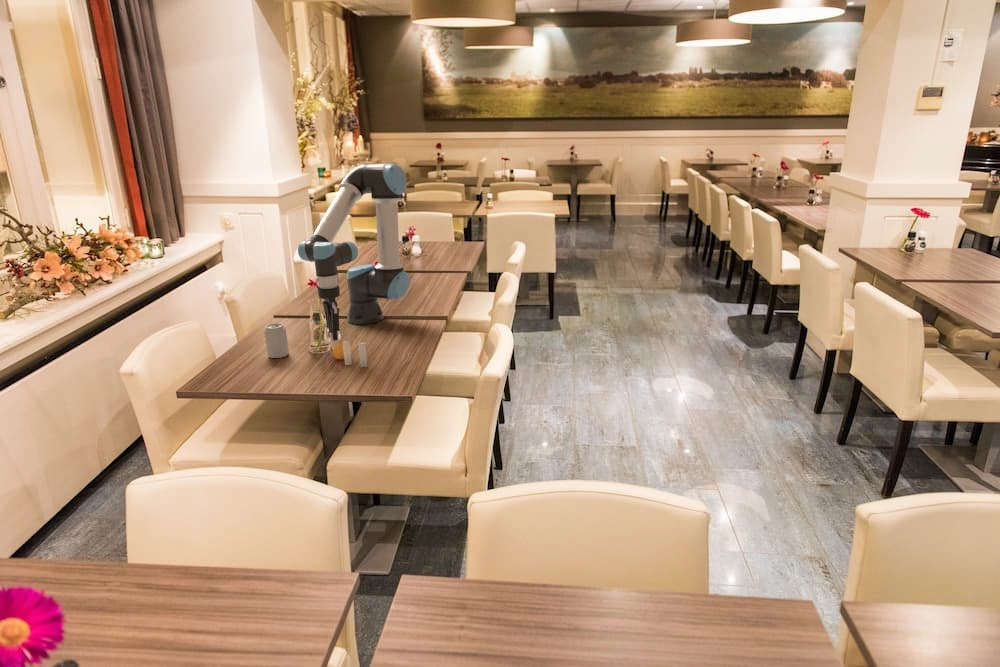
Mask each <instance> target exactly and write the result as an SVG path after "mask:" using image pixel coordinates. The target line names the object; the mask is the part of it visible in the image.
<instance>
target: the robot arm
mask: <svg viewBox="0 0 1000 667" xmlns="http://www.w3.org/2000/svg"><path fill="white" fill-rule="evenodd" d="M407 184H408V181H407V175H406V174H405V171H404V170H403V168H402V167H401V166H400V165H398V164H395V163H389V162H388V163H362V164H359V165H357V166H356V167H354V168H352V170H351V171H349V172H348V173H347V174H346V175H345V176H344V178H343V179H342V180H341V181H340V184H339V186H338V192H337V193H336V195H335V197H334V198H333V200H332V203H331V204H330V205H329V207H328V209H327V210H326V212H325V214H324V215H323V217H322V219H321V220H320V222H319V224H318V225H317V227H316V229H315V230H314V232H313V234H312V236H311V238H309V240H304V241H302V242H300V243H299V244H298V247H297V254H298V257H299V258H300V259H301V260H302V261H306V262H310V263H314V267H315V275H316V278H315V279H314V281H315V282H316V284H317V287H318V288H317V292H318V293H317V294H318V295H317V296H318V298H319V299H321V300H323V301H321V302H322V303H321V304H322V307H323V311H324V312H323V313H324V317H325V323H326V328H328V333H329V338H330V339H329V341H330V348H331V350H333V348H334V346H335V345H336V344H338V343H340V341H339V331H340V315H339V314H340V308H339V307H338V302H337V301H336V298H338V297H339V296H341V295H340V294H341V292H340V286H339V284H340V280H339V273H338V267H340V266H342V265H346V264H349V263H351V262H353V261H355V260H356V259H357V258H358V256H359V249H358V247H357V246H356V244H355V243H354V242H352V241H343V242H341V243H340V242H339V243H338V242H334V240H335V238H336V237H337V234H338V233H339V231H340V229H341V228H342V226H343V224H344V223H345V221H346V219H347V218H348V216H349V214H350V212H351V211H352V209H353V207H354V206H355V204H356V202H357V201H360V200H361V199H362V197H363V196H364V195H365V194H371V200H372V201H374V203H375V215H376V216H375V219H376V240H377V242H376V243H377V263H376V264H371V263H370V264H369V263H368V264H361V265H356V266H353V267H350V268H349V269H347V272H346V276H347V278H346V280H347V287H348V288H347V289H348V297H349V298H348V299H349V305H348V306H349V307H348V311H347V317H346V318H347V322H348V323H349V322H350V323H349V324H352V323H353V324H354V325H370V323H371V324H375V323H378V322H381V321H382V320H384V311H383V309H382V307H381V304H380V302H379V301H378V298H379V299H386V300H387V299H388V300H401V299H402V298H404V297H405V296H406V295H407V293H408V291H409V289H410V285H411V284H410V283H411V280H410V276H409V273H408V272H406V271H405V270H404V265H403V264H402V263H401V262H400V240H399V238H400V237H399V214H398V213H399V212H398V208H399V207H398V206H399V205H398V203H399V202H400V201H401V199H402V195H403V194H404V193H405V192H406V191H407V190H406V189H407ZM353 324H352V325H353Z"/></svg>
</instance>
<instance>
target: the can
mask: <svg viewBox="0 0 1000 667" xmlns="http://www.w3.org/2000/svg"><path fill="white" fill-rule="evenodd" d="M263 333H264V339H265V344H266V351H267V356H268V357H269V358H270V357H271V358H270V359H272V358H280V359H283V358H282V357H284V358H286V357H287V356H288V355H289V353H290V350H289V343H288V337H287V329H286V327H285V326H284V324H283V323H281V322H280V323H278V322H276V323H275V322H274V323H270V324H267V325H266V326H265V328H264V331H263ZM285 356H286V357H285Z"/></svg>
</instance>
